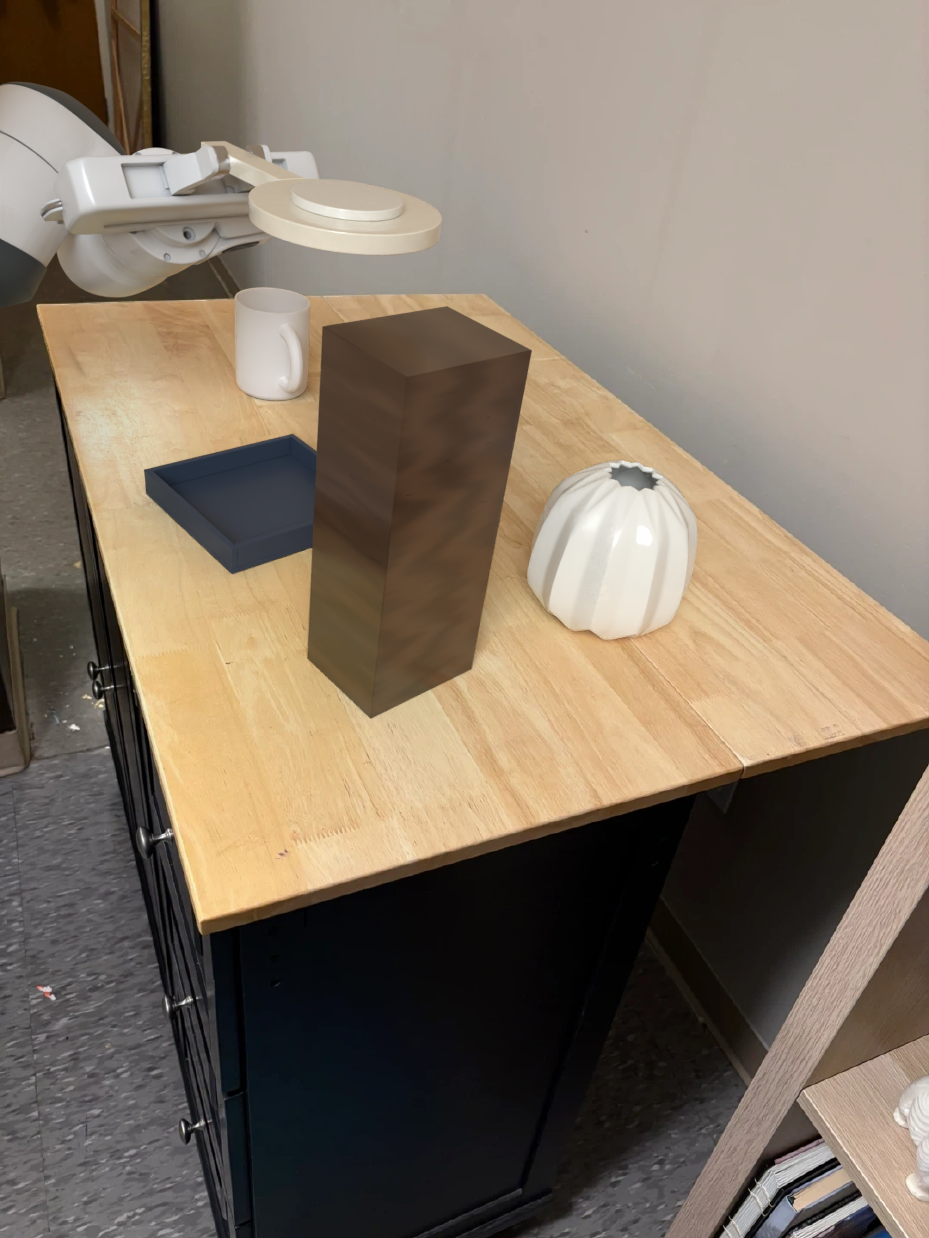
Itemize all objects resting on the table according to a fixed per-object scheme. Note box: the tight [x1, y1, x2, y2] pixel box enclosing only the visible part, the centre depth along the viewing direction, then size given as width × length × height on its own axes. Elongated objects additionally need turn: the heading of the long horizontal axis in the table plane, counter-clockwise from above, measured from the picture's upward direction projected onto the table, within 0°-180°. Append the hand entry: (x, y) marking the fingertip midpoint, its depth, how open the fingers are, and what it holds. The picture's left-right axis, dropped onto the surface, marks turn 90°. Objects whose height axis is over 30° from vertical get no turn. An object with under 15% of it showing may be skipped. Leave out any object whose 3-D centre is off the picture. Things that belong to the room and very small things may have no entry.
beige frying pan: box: [200, 140, 443, 256], centre depth 60 cm, size 12×22×2 cm, turn 42°
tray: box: [143, 433, 317, 575], centre depth 85 cm, size 16×15×3 cm
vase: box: [526, 459, 699, 641], centre depth 76 cm, size 14×14×13 cm
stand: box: [306, 305, 533, 719], centre depth 63 cm, size 10×8×26 cm
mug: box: [234, 286, 312, 402], centre depth 103 cm, size 12×8×10 cm
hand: (241, 157), depth 63 cm, fingers closed on beige frying pan, 2 cm apart
